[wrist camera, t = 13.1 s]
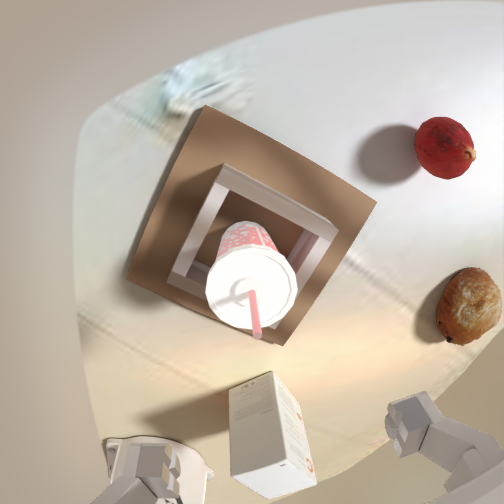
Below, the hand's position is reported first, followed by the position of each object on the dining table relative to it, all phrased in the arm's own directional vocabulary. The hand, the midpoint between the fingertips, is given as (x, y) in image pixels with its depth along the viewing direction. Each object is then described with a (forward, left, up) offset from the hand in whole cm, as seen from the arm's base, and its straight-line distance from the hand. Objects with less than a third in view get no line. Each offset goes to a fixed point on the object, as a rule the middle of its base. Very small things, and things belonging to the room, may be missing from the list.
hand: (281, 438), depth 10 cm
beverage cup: (0, 0, -21) cm, 21 cm away
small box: (-18, -12, -22) cm, 31 cm away
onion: (+17, -11, -22) cm, 30 cm away
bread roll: (+5, -29, -22) cm, 37 cm away
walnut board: (0, 0, -22) cm, 22 cm away
